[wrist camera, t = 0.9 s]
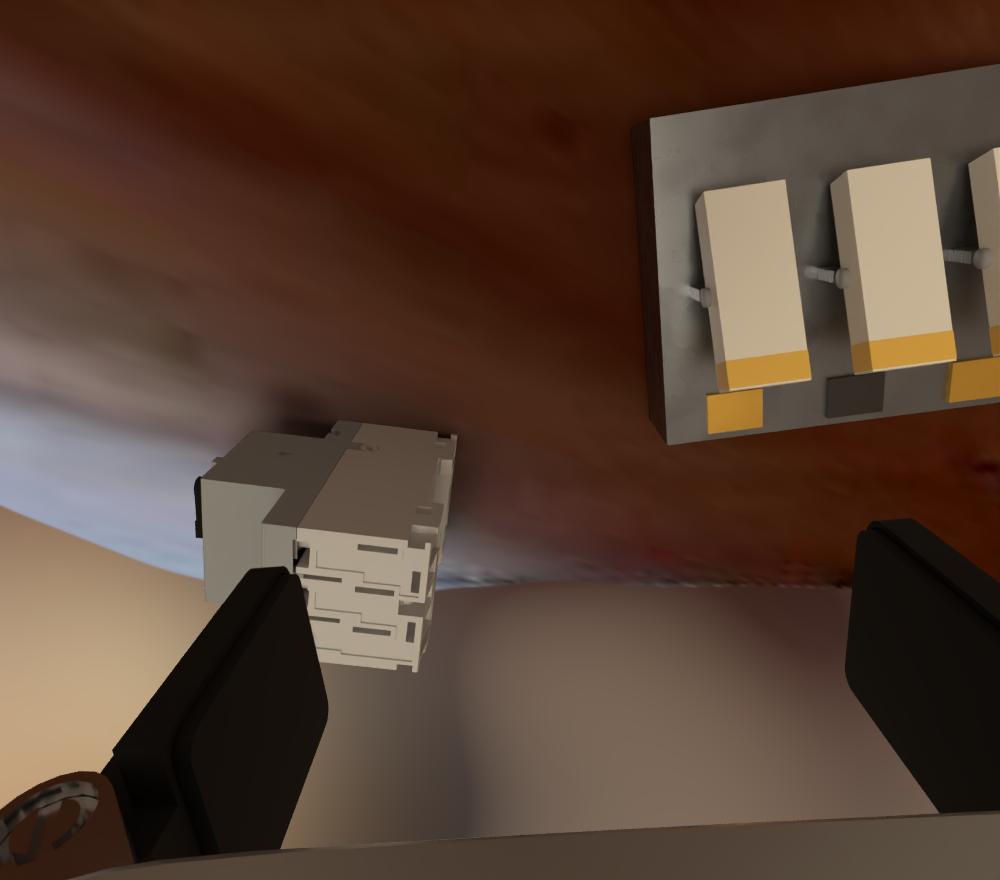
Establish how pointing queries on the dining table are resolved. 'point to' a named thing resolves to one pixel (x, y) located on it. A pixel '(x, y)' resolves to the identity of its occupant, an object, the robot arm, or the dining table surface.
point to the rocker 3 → (988, 234)
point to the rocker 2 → (892, 267)
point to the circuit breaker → (336, 531)
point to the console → (810, 247)
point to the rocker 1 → (752, 287)
